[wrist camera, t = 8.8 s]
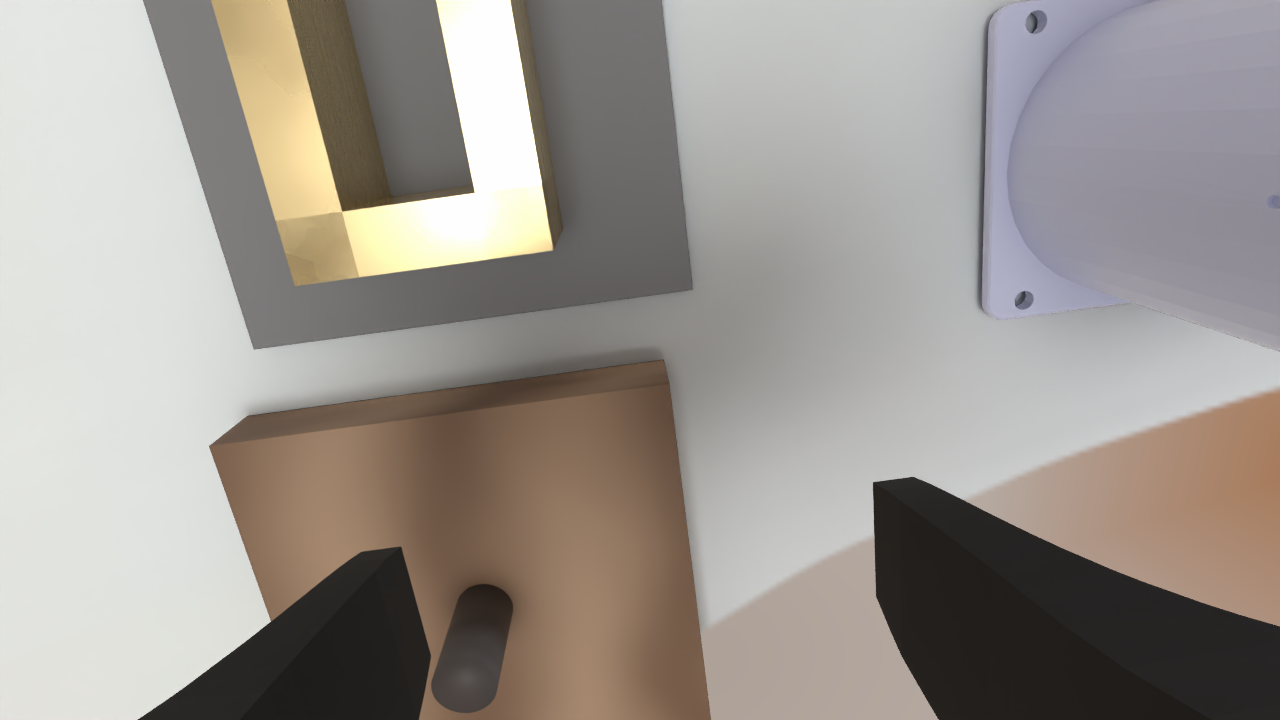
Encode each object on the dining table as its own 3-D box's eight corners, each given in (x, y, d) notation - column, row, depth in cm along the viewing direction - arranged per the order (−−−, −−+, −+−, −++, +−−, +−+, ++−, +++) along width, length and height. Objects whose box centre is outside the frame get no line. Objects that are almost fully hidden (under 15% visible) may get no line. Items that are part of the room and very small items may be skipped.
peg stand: (663, 359, 20) (680, 431, 15) (705, 693, 24) (729, 833, 19) (247, 416, 20) (135, 504, 15) (354, 740, 24) (290, 892, 19)
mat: (634, -238, 16) (634, -247, 15) (691, 286, 19) (692, 289, 19) (101, -165, 16) (88, -172, 15) (260, 345, 19) (254, 349, 19)
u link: (563, 228, 18) (553, 250, 15) (351, 257, 18) (294, 286, 15) (504, -126, 16) (477, -193, 13) (259, -91, 16) (167, -150, 13)
